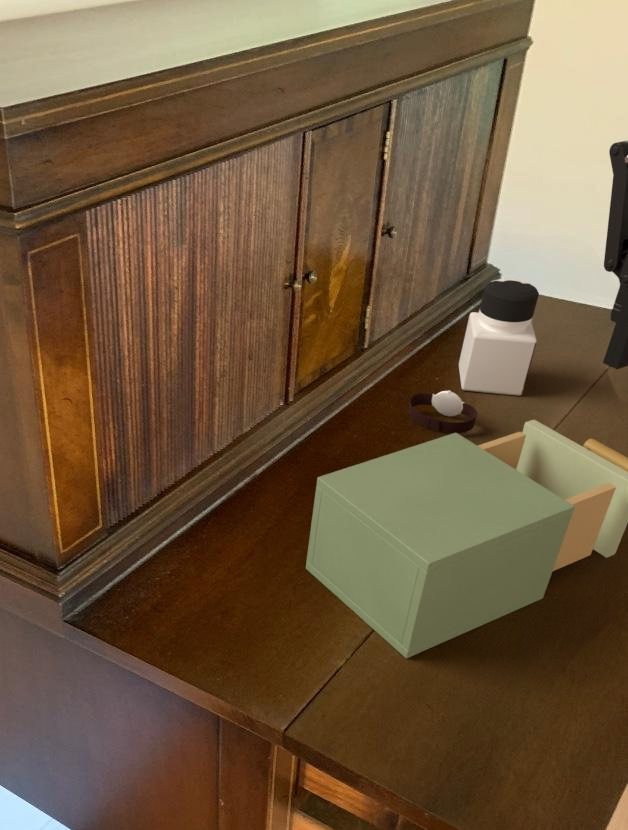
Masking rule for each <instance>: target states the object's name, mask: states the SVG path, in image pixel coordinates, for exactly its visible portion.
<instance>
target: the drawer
mask: <svg viewBox="0 0 628 830" xmlns="http://www.w3.org/2000/svg"><path fill="white" fill-rule="evenodd" d="M477 446H478V447H480V448H482V449H483V450H485V451H487V452H488V453H490V454H491V455H493V456H495V457H496V458H498V459H499V460H501V461H503V462H504V463H506V464H508V465H509V466H511V467H512V468H514V469H516V470H517V471H519V472H520V473H522V474H524V475H525V476H527V477H529V478H530V479H532V480H533V481H535V482H537V483H538V484H540V485H541V486H543V487H545V488H546V489H548V490H549V491H551V492H553V493H554V494H556V495H558V496H559V497H561V498H562V499H564V500H566V501H567V502H569V503H570V504H572V505H574V506H575V508H574V511H573V514H572V517H571V520H570V523H569V525H568V528H567V531H566V534H565V537H564V540H563V543H562V545H561V548H560V551H559V554H558V557H557V560H556V563H555V565H554V568H553V571H552V572H555V571H556V570H559V569H561V568H564V567H566V566H568V565H571V564H573V563H575V562H578V561H580V560H583V559H585V558H587V557H589V556H591V555H592V552H593V551H595V552H597V553H598V554H600V555H601V556H603V557H604V558H606V559H607V558H609V557H612V556H614V555H616V553H617V552H618V551H617V550H618V549H619V545H620V543H621V540H622V538H623V535H624V534H625V531H626V528H627V525H628V456H625V455H623V454H622V453H620V452H618V451H616V450H615V449H613V448H610V447H609V446H607V445H605V444H603V443H602V442H600V441H598V440H596V439H594V438H589V439H587V440H586V441H585V442H584V443H583V445H580V444H579V443H577V442H575V441H573V440H571V439H570V438H568V437H566V436H564V435H562V434H561V433H559V432H557V431H555V430H554V429H552V428H550V427H548V426H547V425H545V424H543V423H541V422H539V421H537V420H536V419H530V420H528V421H525V422H524V425H523V429H522V431H517V432H515V433H511V434H508V435H505V436H502V437H499V438H496V439H493V440H490V441H487V442H484V443H481V444H478V445H477Z"/></svg>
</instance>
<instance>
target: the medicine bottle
mask: <svg viewBox="0 0 628 830" xmlns="http://www.w3.org/2000/svg"><path fill="white" fill-rule="evenodd" d="M539 295H540V293H539V290H538V289H537V288H536V286H535V285H533V284H531V283H529V282H527V281H525V280H521V279H517V278H509V277H508V278H499V279H494V280H491V281H489V282H488V283H487V284H486V285H485V286H484V289H483V292H482V297H481V302H480V305H479V306H480V307H479V309H478V312H476V311H475V312H474V311H472V312H470V314H469V315H468V321H467V324H466V330H465V333H464V338H463V342H462V347H461V351H460V357H459V360H458V370H459V378H460V387H461V390H462V391H465V392H475V393H476V392H477V393H486V394H487V393H488V394H498V395H508V396H518V397H519V396H522V395H523V393H524V389H525V386H526V383H527V382H526V381H527V379H528V376H529V375H528V374H529V371H530V368H531V364H532V362H533V361H532V360H533V356H534V353H535V349H536V346H537V342H538V341H537V337H536V334H535V330H534V326H533V323H532V322H533V319H534V318H533V317H534V314H535V310H536V307H537V303H538V299H539Z"/></svg>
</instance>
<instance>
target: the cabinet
mask: <svg viewBox="0 0 628 830" xmlns="http://www.w3.org/2000/svg"><path fill="white" fill-rule="evenodd" d="M574 508H575V506H574V505H572V504H570V503H569V502H567V501H566V500H564V499H562V498H561V497H559V496H558V495H556V494H554V493H553V492H551V491H549V490H548V489H546V488H545V487H543V486H541V485H540V484H538V483H537V482H535V481H533V480H532V479H530V478H529V477H527V476H525V475H524V474H522V473H520V472H519V471H517V470H516V469H514V468H512V467H511V466H509V465H508V464H506V463H504V462H503V461H501V460H499V459H498V458H496V457H495V456H493V455H491V454H490V453H488V452H487V451H485V450H483V449H482V448H480V447H478V445H477V444H475V443H473V442H472V441H470V440H469V439H467V438H466V437H464V436H462V435H461V434H460V433H449V434H448V435H444V436H440V437H437V438H434V439H432V440H429V441H425V442H423V443H419V444H417V445H413V446H410V447H406V448H404V449H401V450H398V451H395V452H392V453H389V454H386V455H382V456H379V457H377V458H373V459H369V460H366V461H363V462H361V463H357V464H354V465H351V466H348V467H346V468H342V469H339V470H336V471H333V472H330V473H326V474H323V475H321V476H318V477H316V486H315V495H314V501H313V508H312V516H311V523H310V524H311V525H310V531H309V539H308V547H307V554H306V563H305V569H306V570H307V572H308V573H310V574H311V575H312V576H313V577H315V579H317V581H319V582H320V583H321V584H322V585H323V586H325V587H326V588H327V589H328V590H329V591H330V592H331V593H332V594H333V595H335V596H336V597H337V598H338V599H339V600H340V601H341V602H343V603H344V604H345V605H346V606H347V607H348V608H349V609H350V610H351V611H352V612H353V613H355V614H356V615H357V616H358V617H359V618H360V619H361V620H363V621H364V622H365V624H367V625H368V626H369V627H370V628H371V629H372V630H373V631H375V632H376V633H377V634H378V635H379V636H380V637H381V638H383V639H384V640H385V641H386V642H387V643H388V644H389V645H391V646H392V647H393V648H394V649H395V651H397V652H398V653H399V654H400V655H402V656H403V657H404V658H405V659H409V658H411V657H413V656H415V655H418V654H420V653H422V652H424V651H427V650H429V649H431V648H434V647H436V646H439V645H440V644H444V643H445V642H448V641H450V640H452V639H455V638H457V637H459V636H461V635H463V634H466V633H468V632H470V631H472V630H474V629H476V628H479V627H481V626H484V625H486V624H488V623H491V622H492V621H496V620H497V619H499V618H501V617H504V616H506V615H508V614H511V613H513V612H515V611H517V610H519V609H523V608H524V607H526V606H529V605H531V604H533V603H536V602H538V601H540V600H542V599H544V596H545V594H546V590H547V588H548V584H549V583H550V579H551V577H552V574H553V572H554V571H553V568H554V565H555V563H556V560H557V557H558V554H559V551H560V548H561V545H562V543H563V540H564V537H565V534H566V531H567V528H568V525H569V523H570V520H571V517H572V514H573V511H574Z"/></svg>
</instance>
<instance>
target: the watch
mask: <svg viewBox="0 0 628 830" xmlns="http://www.w3.org/2000/svg"><path fill="white" fill-rule="evenodd" d="M421 405H424V406H425V405H427V406H431V407H434V409H435V410H436V411H437V412H438V413H440V414H441V415H443V416H446V417H455V416H457V415H463V416H466V417H468V418H469V420H466V421H456V422H455V421H447V420H444V419H440V418H436V417H434V416H433V417H432V416H431V415H428V414H426V415H425V414H423V413H422V412H420V411H417V410H416V408H414V407H416V406H421ZM408 406H409V408H408V415H409V417H410V418H411V419H412V421H413V422H415V423H416V424H418V425H420V426H421V427H423V428H426V429H427V430H431V431H433V432H442V433H448V434H453V433H457V434H462V433H463V434H464V433H467V432H469V431H471V430H472V429H473V428H474V427H475V425H476V420H477V416H478V411H477V409H476V408H475V407H474V406H472V405H470V404H468V403H466V402H464V401H463V400H462V398H461V397H460V396H459V395H458V394H457V393H455V392H453V391H451V390H449V389H448V390H443V391H442V390H441V391H440V392H437V393H436V394H435V393H429V392H419V393H414V394H413V395H411V397H410V398H409V404H408Z"/></svg>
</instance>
